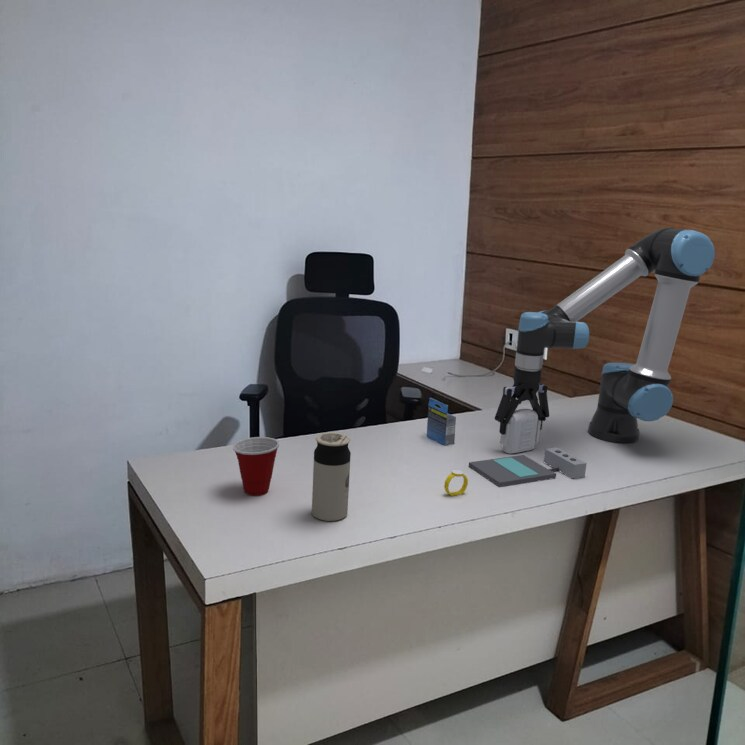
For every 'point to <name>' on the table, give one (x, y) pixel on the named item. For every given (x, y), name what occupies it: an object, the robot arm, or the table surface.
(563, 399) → the table surface
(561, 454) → the power strip
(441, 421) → the label tape box
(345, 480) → the travel mug
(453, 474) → the watch
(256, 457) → the plastic cup
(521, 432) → the photo printer
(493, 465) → the pad
